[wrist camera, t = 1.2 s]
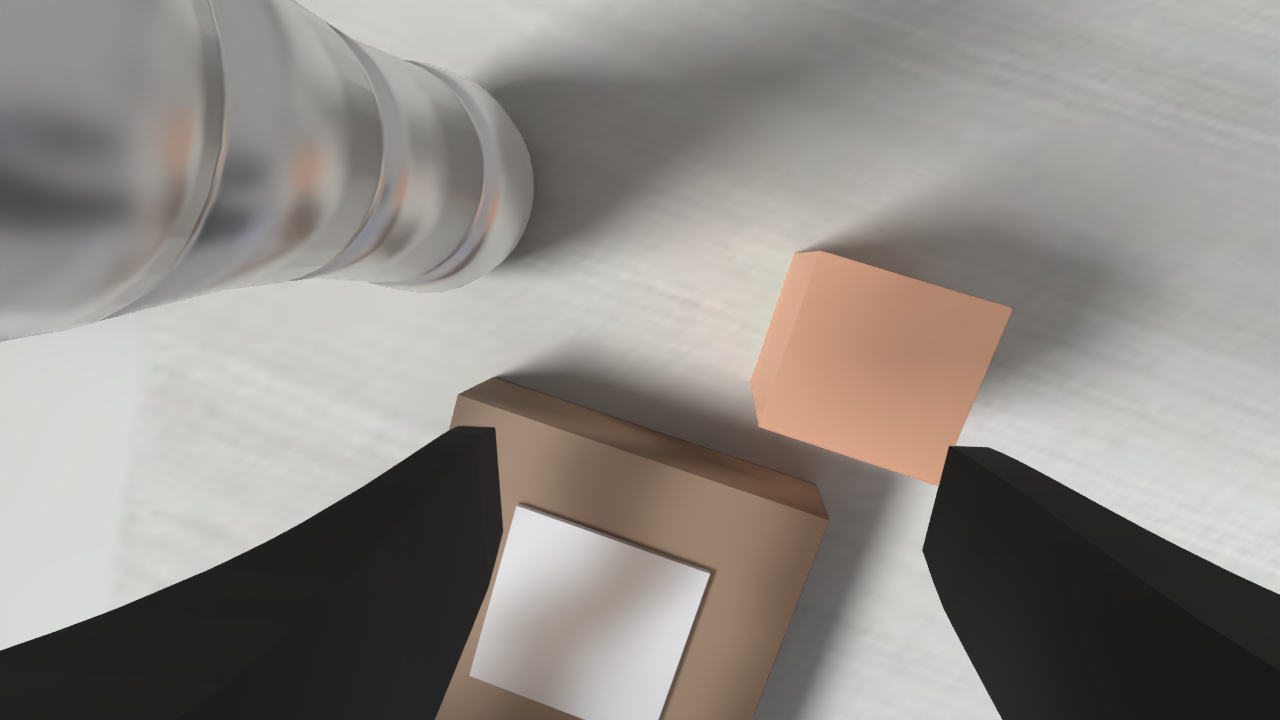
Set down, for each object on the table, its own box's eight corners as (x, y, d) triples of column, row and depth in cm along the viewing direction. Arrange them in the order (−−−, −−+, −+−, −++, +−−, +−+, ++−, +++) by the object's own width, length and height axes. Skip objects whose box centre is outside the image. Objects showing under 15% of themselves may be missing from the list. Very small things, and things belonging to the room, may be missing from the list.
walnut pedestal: (815, 484, 21) (830, 523, 18) (708, 766, 24) (705, 843, 21) (493, 377, 22) (455, 395, 19) (420, 657, 25) (376, 715, 22)
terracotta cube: (929, 293, 20) (1013, 308, 14) (879, 422, 21) (938, 486, 15) (794, 253, 20) (820, 250, 14) (750, 381, 21) (758, 427, 15)
